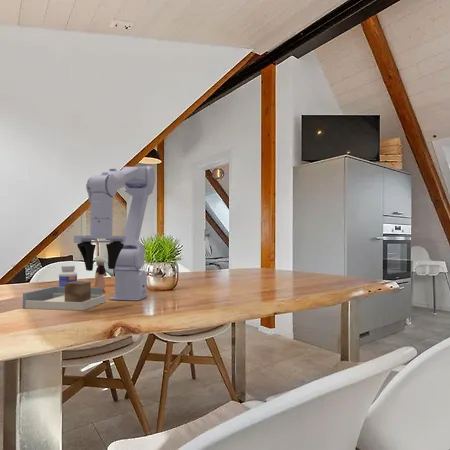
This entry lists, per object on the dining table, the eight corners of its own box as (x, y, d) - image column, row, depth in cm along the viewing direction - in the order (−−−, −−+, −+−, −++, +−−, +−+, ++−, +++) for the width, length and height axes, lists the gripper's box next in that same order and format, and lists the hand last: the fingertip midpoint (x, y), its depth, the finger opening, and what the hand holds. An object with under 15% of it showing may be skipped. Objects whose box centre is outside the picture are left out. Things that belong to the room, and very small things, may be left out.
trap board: (106, 301, 110) (106, 288, 110) (83, 310, 96) (83, 295, 97) (52, 299, 112) (52, 286, 112) (22, 308, 99) (23, 293, 99)
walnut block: (90, 299, 102) (90, 281, 102) (81, 302, 97) (81, 283, 98) (74, 298, 103) (74, 281, 103) (64, 301, 98) (64, 283, 98)
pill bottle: (70, 297, 117) (70, 266, 117) (54, 296, 118) (55, 266, 118) (80, 294, 122) (80, 265, 123) (65, 293, 123) (66, 264, 124)
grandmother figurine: (96, 290, 131) (97, 255, 131) (108, 290, 131) (108, 255, 131) (90, 294, 123) (91, 256, 123) (102, 294, 123) (103, 256, 124)
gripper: (116, 220, 108) (115, 267, 108) (68, 218, 97) (67, 270, 97) (130, 220, 104) (130, 268, 103) (82, 217, 92) (81, 272, 92)
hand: (100, 269), depth 100 cm, fingers open, 6 cm apart
